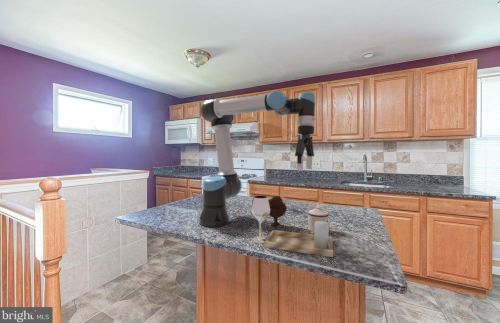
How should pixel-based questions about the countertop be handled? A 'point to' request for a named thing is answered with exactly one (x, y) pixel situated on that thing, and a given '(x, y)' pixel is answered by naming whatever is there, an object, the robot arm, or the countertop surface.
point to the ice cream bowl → (276, 209)
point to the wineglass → (260, 213)
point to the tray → (296, 243)
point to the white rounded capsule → (321, 234)
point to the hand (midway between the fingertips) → (304, 169)
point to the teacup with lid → (316, 217)
